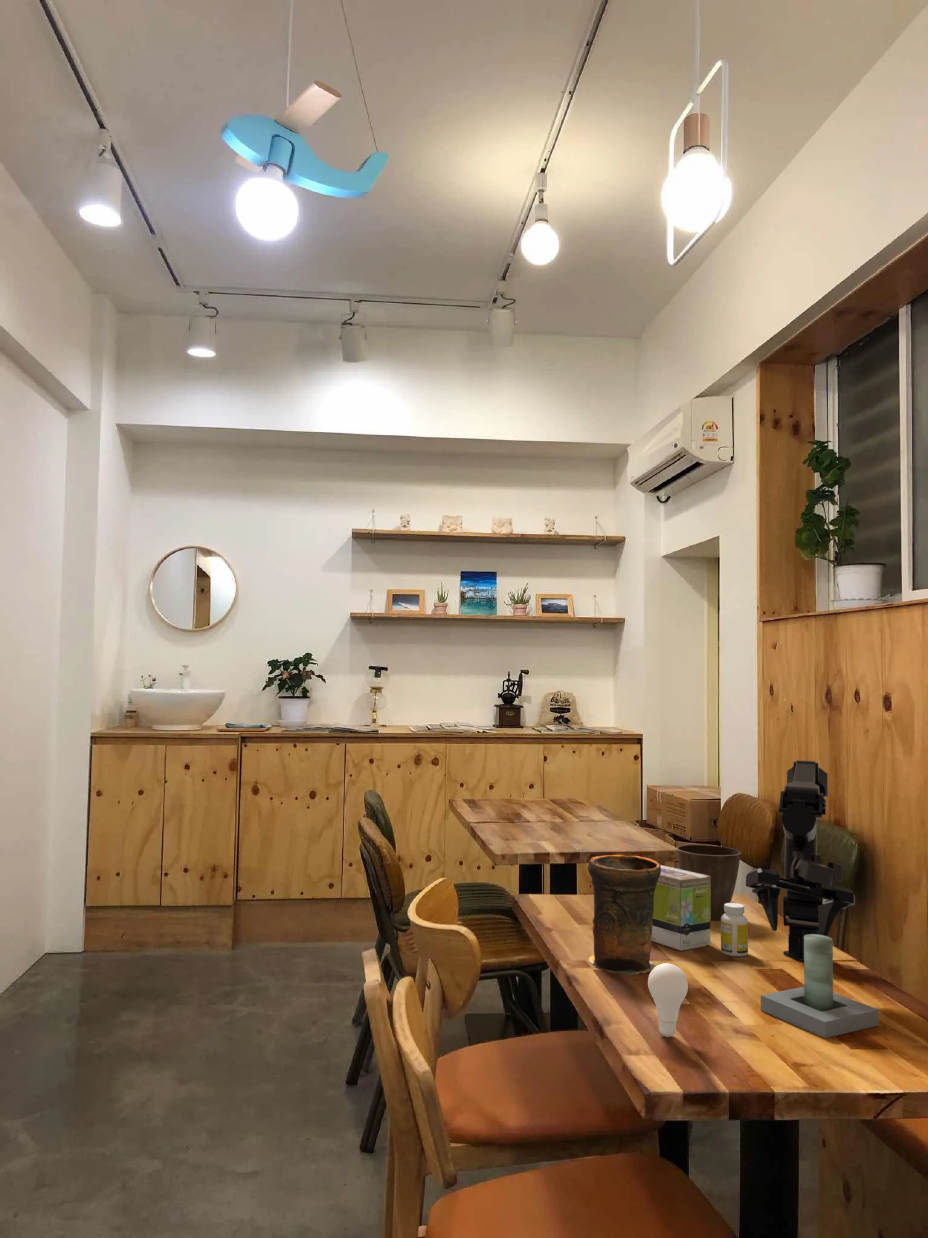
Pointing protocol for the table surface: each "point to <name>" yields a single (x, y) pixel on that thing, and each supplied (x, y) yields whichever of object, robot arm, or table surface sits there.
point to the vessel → (623, 912)
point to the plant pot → (713, 871)
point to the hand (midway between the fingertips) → (798, 936)
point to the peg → (818, 972)
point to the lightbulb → (667, 995)
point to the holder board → (820, 1013)
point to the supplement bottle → (734, 930)
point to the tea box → (682, 909)
